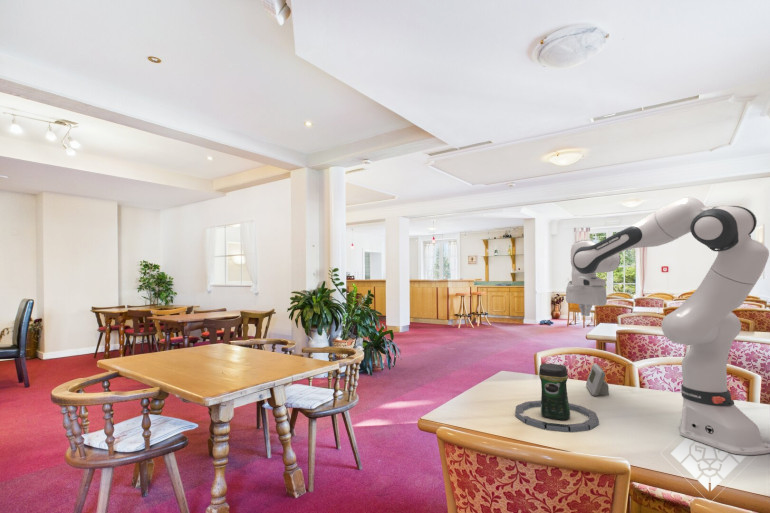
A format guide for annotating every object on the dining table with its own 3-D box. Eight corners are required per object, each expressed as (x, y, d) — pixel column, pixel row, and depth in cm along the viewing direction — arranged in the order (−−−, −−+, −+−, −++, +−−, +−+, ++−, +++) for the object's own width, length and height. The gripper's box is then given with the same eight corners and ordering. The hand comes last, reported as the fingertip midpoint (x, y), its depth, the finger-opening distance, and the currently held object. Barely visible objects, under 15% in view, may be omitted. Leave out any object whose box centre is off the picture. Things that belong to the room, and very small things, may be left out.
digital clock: (586, 386, 180) (585, 362, 180) (609, 388, 175) (608, 364, 176) (583, 395, 166) (582, 370, 166) (608, 398, 161) (607, 372, 162)
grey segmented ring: (616, 427, 132) (616, 422, 132) (541, 435, 127) (541, 429, 127) (566, 402, 158) (566, 397, 158) (502, 407, 154) (502, 403, 154)
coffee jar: (571, 415, 144) (569, 363, 145) (568, 422, 137) (565, 367, 138) (543, 410, 149) (541, 360, 150) (538, 417, 143) (536, 364, 144)
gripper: (561, 281, 169) (562, 313, 169) (594, 281, 149) (595, 318, 148) (574, 280, 170) (576, 313, 170) (609, 281, 150) (610, 317, 149)
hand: (585, 315), depth 159 cm, fingers closed
